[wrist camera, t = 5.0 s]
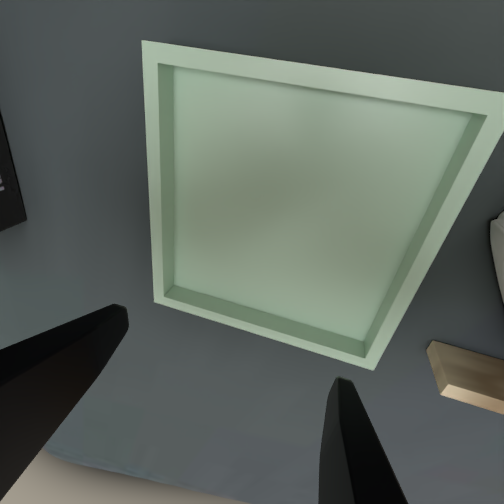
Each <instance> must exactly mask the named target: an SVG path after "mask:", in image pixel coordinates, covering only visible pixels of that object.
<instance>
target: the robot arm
mask: <svg viewBox="0 0 504 504" xmlns="http://www.w3.org/2000/svg"><path fill="white" fill-rule="evenodd" d="M128 327H129V322H128V313H127V309H126V307H124V306H121V305H118V304H112V305H109V306H107V307H104V308H102V309H99V310H97V311H94V312H92V313H89V314H87V315H84V316H82V317H80V318H77V319H75V320H72V321H70V322H67V323H65V324H62V325H60V326H57V327H55V328H52V329H50V330H48V331H45V332H43V333H40V334H38V335H35V336H33V337H30V338H28V339H25V340H23V341H21V342H18V343H16V344H13V345H11V346H8V347H6V348H3V349H1V350H0V501H1V500H2V499H3V497H4V496H5V495H6V493H7V492H8V491H9V490H10V488H11V487H12V486H13V484H14V483H15V482H16V481H17V479H18V478H19V477H20V475H21V474H22V473H23V472H24V470H25V469H26V468H27V467H28V465H29V464H30V463H31V461H32V460H33V459H34V458H35V456H36V455H37V454H38V452H39V451H40V450H41V449H42V447H43V446H44V445H45V444H46V442H47V441H48V440H49V439H50V437H51V436H52V435H53V433H54V432H55V431H56V430H57V428H58V427H59V426H60V424H61V423H62V422H63V421H64V419H65V418H66V417H67V416H68V414H69V413H70V412H71V410H72V409H73V408H74V407H75V405H76V404H77V403H78V401H79V400H80V399H81V398H82V396H83V395H84V394H85V393H86V391H87V390H88V389H89V387H90V386H91V385H92V384H93V382H94V381H95V380H96V378H97V377H98V376H99V374H100V373H101V372H102V370H103V369H104V367H105V366H106V364H107V362H108V361H109V359H110V358H111V356H112V355H113V353H114V351H115V350H116V348H117V347H118V345H119V344H120V342H121V340H122V339H123V337H124V336H125V334H126V332H127V330H128ZM318 504H408V502H407V500H406V497H405V495H404V493H403V491H402V489H401V487H400V484H399V482H398V480H397V478H396V476H395V473H394V471H393V469H392V467H391V465H390V463H389V460H388V458H387V456H386V454H385V452H384V449H383V447H382V445H381V443H380V441H379V439H378V436H377V434H376V432H375V430H374V428H373V426H372V423H371V421H370V419H369V417H368V415H367V412H366V410H365V408H364V406H363V404H362V402H361V399H360V397H359V395H358V393H357V391H356V388H355V386H354V384H353V382H352V381H351V380H349V379H346V378H343V377H340V376H338V377H337V378H336V379H335V381H334V383H333V385H332V388H331V390H330V392H329V395H328V399H327V406H326V413H325V421H324V428H323V435H322V443H321V451H320V464H319V502H318Z"/></svg>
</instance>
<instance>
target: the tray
mask: <svg viewBox="0 0 504 504" xmlns="http://www.w3.org/2000/svg"><path fill="white" fill-rule="evenodd" d="M142 60H143V81H144V102H145V122H146V143H147V164H148V185H149V205H150V226H151V247H152V267H153V288H154V302H156V303H159V304H162V305H165V306H168V307H172V308H175V309H178V310H181V311H184V312H188V313H191V314H194V315H197V316H200V317H204V318H207V319H210V320H213V321H216V322H220V323H223V324H226V325H229V326H232V327H236V328H239V329H242V330H245V331H248V332H252V333H255V334H258V335H261V336H264V337H268V338H271V339H274V340H277V341H280V342H284V343H287V344H290V345H293V346H296V347H300V348H303V349H306V350H309V351H312V352H316V353H319V354H322V355H325V356H328V357H332V358H335V359H338V360H341V361H344V362H348V363H351V364H354V365H357V366H360V367H364V368H367V369H370V370H373V371H374V369H375V367H376V365H377V363H378V361H379V360H380V358H381V356H382V354H383V352H384V350H385V348H386V347H387V345H388V343H389V341H390V339H391V337H392V336H393V334H394V332H395V330H396V328H397V326H398V325H399V323H400V321H401V319H402V317H403V315H404V314H405V312H406V310H407V308H408V306H409V304H410V302H411V301H412V299H413V297H414V295H415V293H416V291H417V290H418V288H419V286H420V284H421V282H422V280H423V279H424V277H425V275H426V273H427V271H428V269H429V267H430V266H431V264H432V262H433V260H434V258H435V256H436V255H437V253H438V251H439V249H440V247H441V245H442V244H443V242H444V240H445V238H446V236H447V234H448V232H449V231H450V229H451V227H452V225H453V223H454V221H455V220H456V218H457V216H458V214H459V212H460V210H461V209H462V207H463V205H464V203H465V201H466V199H467V197H468V196H469V194H470V192H471V190H472V188H473V186H474V185H475V183H476V181H477V179H478V177H479V175H480V174H481V172H482V170H483V168H484V166H485V164H486V162H487V161H488V159H489V157H490V155H491V153H492V151H493V150H494V148H495V146H496V144H497V142H498V140H499V139H500V137H501V135H502V133H503V131H504V93H502V92H495V91H488V90H481V89H474V88H468V87H461V86H454V85H447V84H440V83H433V82H426V81H419V80H413V79H406V78H399V77H392V76H385V75H378V74H371V73H364V72H358V71H351V70H344V69H337V68H330V67H323V66H316V65H309V64H303V63H296V62H289V61H282V60H275V59H268V58H261V57H254V56H248V55H241V54H234V53H227V52H220V51H213V50H206V49H199V48H192V47H186V46H179V45H172V44H165V43H158V42H151V41H144V40H142Z"/></svg>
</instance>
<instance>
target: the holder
mask: <svg viewBox="0 0 504 504" xmlns="http://www.w3.org/2000/svg"><path fill="white" fill-rule="evenodd" d="M426 351H427V354H428V358H429V361H430V364H431V367H432V370H433V373H434V376H435V380H436V383H437V386H438V389H439V392H440V395H443V396H446V397H450V398H453V399H456V400H459V401H462V402H466V403H469V404H472V405H475V406H478V407H481V408H485V409H488V410H491V411H494V412H497V413H501V414H504V360H500V359H497V358H493V357H490V356H486V355H483V354H479V353H476V352H472V351H469V350H465V349H462V348H458V347H455V346H451V345H448V344H444V343H441V342H437V341H434V340H432V342H431V344H430V345H429V347H428V348H427V350H426Z"/></svg>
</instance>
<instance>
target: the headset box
mask: <svg viewBox="0 0 504 504" xmlns="http://www.w3.org/2000/svg"><path fill="white" fill-rule="evenodd" d="M24 221H26V215H25V211H24V207H23V203H22V199H21V196H20V192H19V188H18V184H17V180H16V176H15V173H14V169H13V165H12V161H11V157H10V153H9V149H8V144H7V141H6V137H5V134H4V130H3V126H2V123H1V118H0V231H3V230H5V229H7V228H10V227H12V226H14V225H17V224H19V223H21V222H24Z"/></svg>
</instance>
